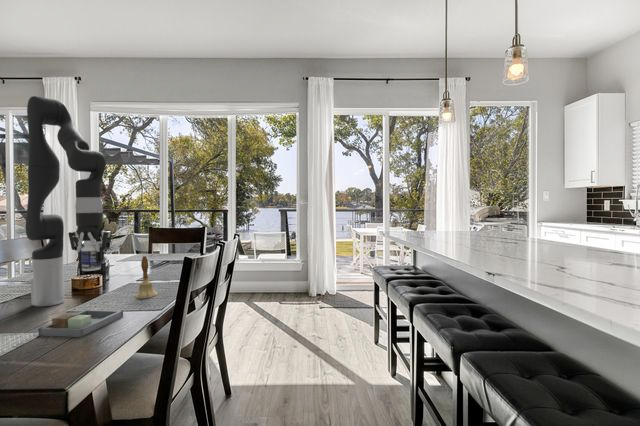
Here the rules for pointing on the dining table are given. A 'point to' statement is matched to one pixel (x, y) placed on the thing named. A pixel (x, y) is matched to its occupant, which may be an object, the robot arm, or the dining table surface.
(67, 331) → the parts tray
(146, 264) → the hand bell
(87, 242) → the pill bottle
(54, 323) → the walnut block
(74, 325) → the sage block
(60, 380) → the dining table surface
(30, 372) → the dining table surface
